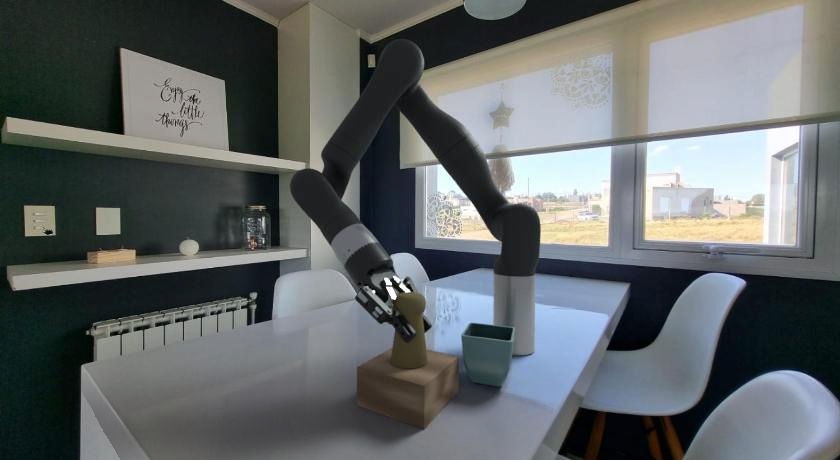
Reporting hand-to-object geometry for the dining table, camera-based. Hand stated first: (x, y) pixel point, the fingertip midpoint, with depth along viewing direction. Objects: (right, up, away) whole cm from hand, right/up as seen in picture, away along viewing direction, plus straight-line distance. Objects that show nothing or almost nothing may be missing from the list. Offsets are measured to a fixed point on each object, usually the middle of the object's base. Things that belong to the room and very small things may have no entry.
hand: (419, 334), depth 52 cm
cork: (-2, -5, +1) cm, 5 cm away
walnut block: (-2, -11, +1) cm, 11 cm away
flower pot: (+13, -11, +8) cm, 18 cm away
